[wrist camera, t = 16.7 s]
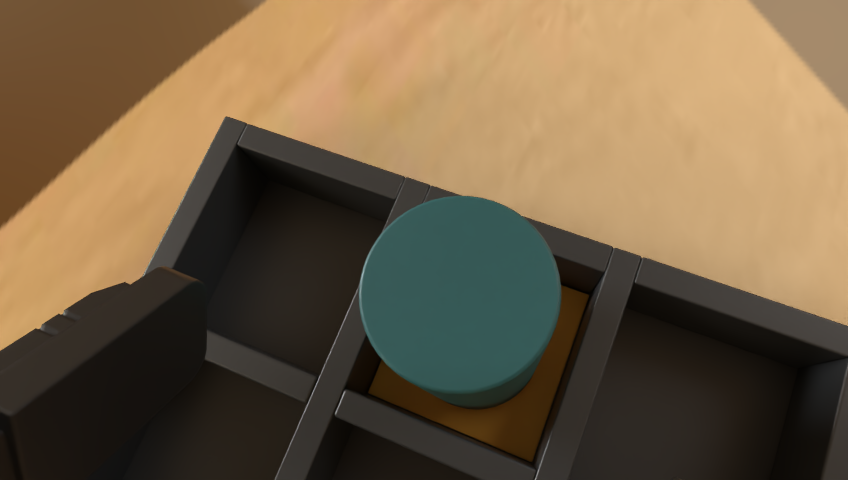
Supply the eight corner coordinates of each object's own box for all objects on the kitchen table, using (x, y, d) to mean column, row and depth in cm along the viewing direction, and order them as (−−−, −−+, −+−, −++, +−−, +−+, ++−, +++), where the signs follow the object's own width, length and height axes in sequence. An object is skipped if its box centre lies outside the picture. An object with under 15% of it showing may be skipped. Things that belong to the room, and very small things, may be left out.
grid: (822, 356, 20) (890, 339, 16) (701, 842, 17) (753, 949, 13) (265, 161, 24) (225, 115, 20) (87, 520, 21) (5, 537, 17)
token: (557, 308, 20) (589, 231, 13) (513, 430, 19) (519, 428, 12) (439, 264, 21) (403, 169, 13) (393, 380, 20) (325, 347, 12)
